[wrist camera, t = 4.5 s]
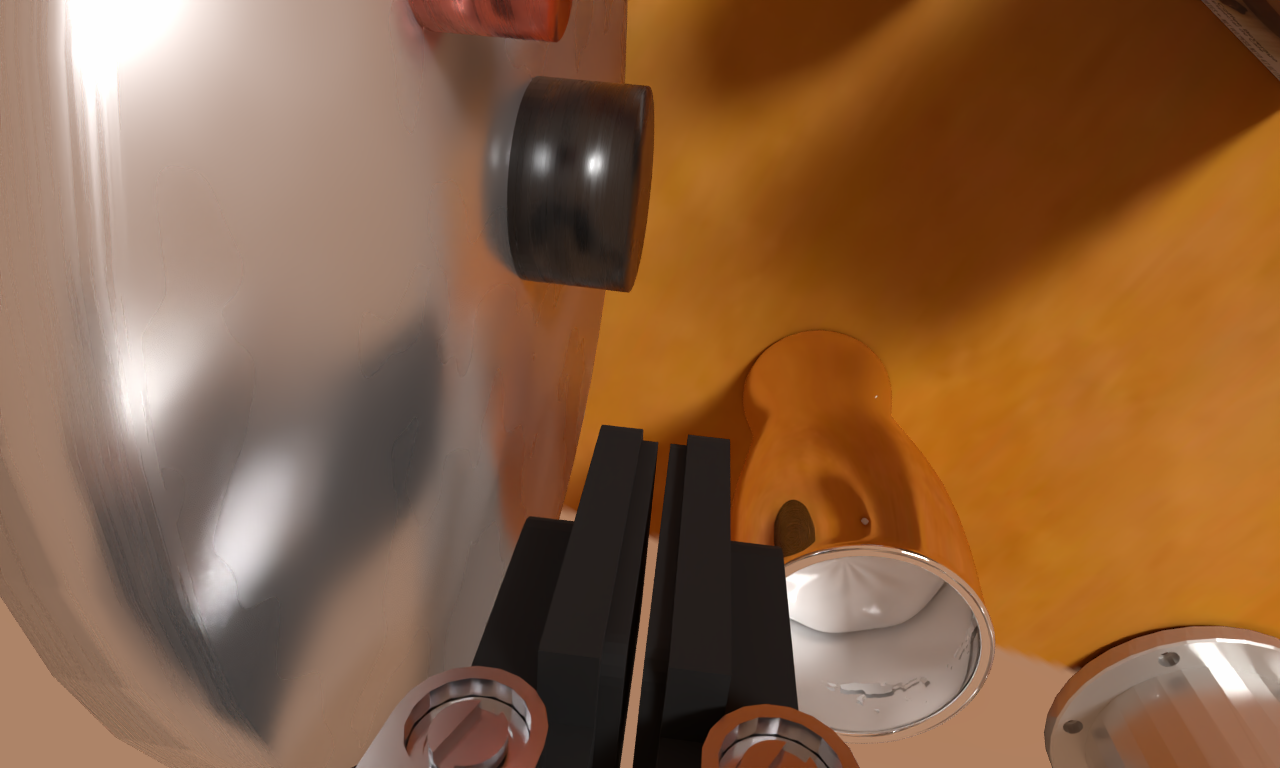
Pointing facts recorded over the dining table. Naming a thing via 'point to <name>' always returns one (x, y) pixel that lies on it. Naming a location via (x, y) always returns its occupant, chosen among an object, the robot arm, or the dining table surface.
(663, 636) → the robot arm
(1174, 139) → the dining table surface
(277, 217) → the lid
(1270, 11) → the coffee box
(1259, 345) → the dining table surface
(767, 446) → the beer glass
